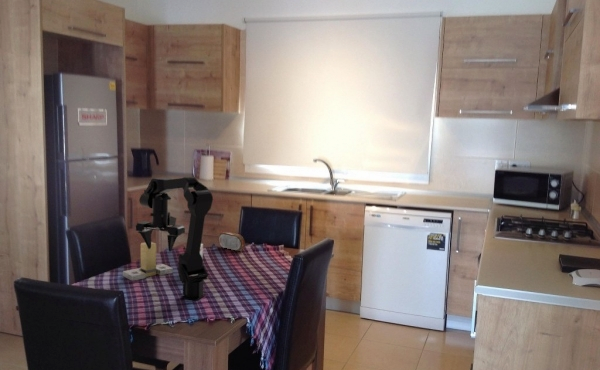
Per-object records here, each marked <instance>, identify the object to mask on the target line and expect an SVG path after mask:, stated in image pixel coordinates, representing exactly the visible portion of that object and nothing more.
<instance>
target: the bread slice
mask: <svg viewBox="0 0 600 370" xmlns="http://www.w3.org/2000/svg"><path fill="white" fill-rule="evenodd" d="M218 244H219V246H220V247H221V248H222V249H224V248H227V249H226V250H228V249H231V250H230V251H233V250H235V251H234V252H239V251H242V250H244V248H245V245H246V242H245V238H244V237H243V236H242V235H241V234H239V233H234V232H230V231H224V232H221V233H220V234H219V235H218Z"/></svg>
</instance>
